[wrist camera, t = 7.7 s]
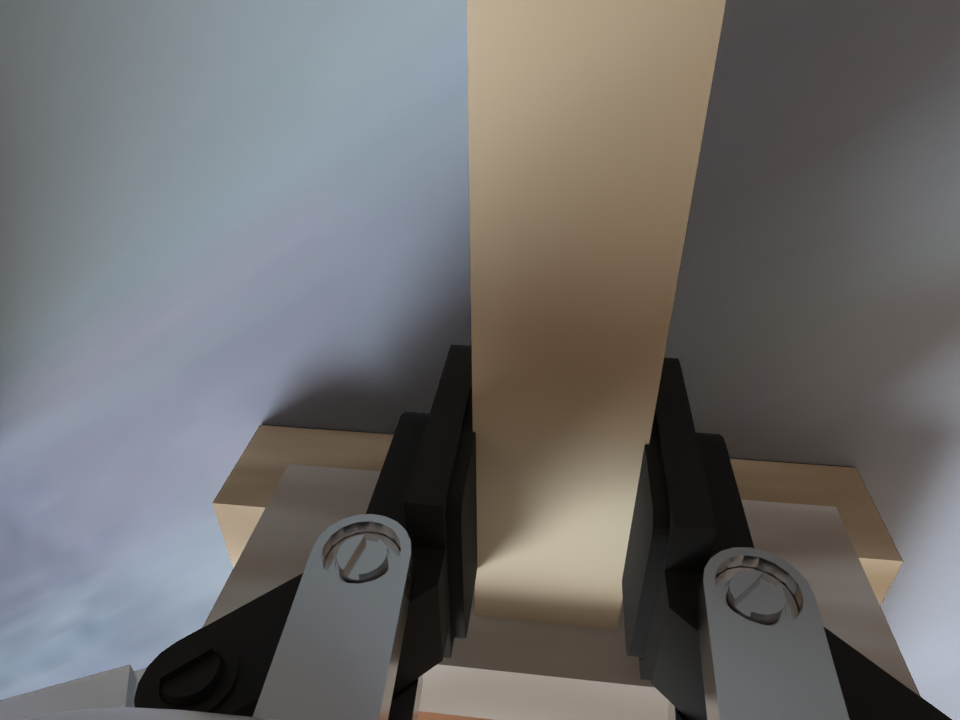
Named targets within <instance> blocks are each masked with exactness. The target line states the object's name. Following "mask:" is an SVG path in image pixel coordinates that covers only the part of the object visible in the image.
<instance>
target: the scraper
mask: <svg viewBox="0 0 960 720" xmlns="http://www.w3.org/2000/svg"><path fill="white" fill-rule="evenodd" d="M725 4H726V0H467V50H468V123H469V197H470V270H471V343H472V416H473V432H476V493H477V574H476V581H475V587H474V593H473V600H472V606H471V613H470V619H469V626H468V632H467V636H466V639H463V638H454V643H453V649H452V655H451V658H444V657H443V661H441V662H440V663H439V664H437V665H436V666H434V667H433V668H431V669H430V670H429V671H427V672H426V673H424V674H423V686H422V693H421V699H420V706H419V711H423V712H432V713H441V714H449V715H458V716H467V717H476V718H484V719H493V720H669V719H668V706H669V700H668V699H667V698H665V697H664V696H663V695H662V694H661V693H660V692H659V691H658V690H657V689H656V688H655V687H654V686H653V685H652V684H651V680H643V679H640V668H639V657H631V656H627V653H626V642H625V626H624V610H623V595H622V577H623V571H624V565H625V559H626V553H627V547H628V541H629V535H630V529H631V523H632V517H633V511H634V506H635V500H636V494H637V488H638V482H639V476H640V470H641V464H642V458H643V452H644V446H645V444H649V442H650V436H651V431H652V425H653V419H654V413H655V408H656V402H657V396H658V390H659V385H660V379H661V373H662V367H663V361H664V356H665V350H666V344H667V338H668V333H669V327H670V321H671V315H672V310H673V304H674V298H675V292H676V287H677V281H678V275H679V269H680V264H681V258H682V252H683V246H684V241H685V235H686V229H687V223H688V218H689V212H690V206H691V200H692V194H693V189H694V183H695V177H696V171H697V166H698V160H699V154H700V148H701V143H702V137H703V131H704V125H705V120H706V114H707V108H708V102H709V97H710V91H711V85H712V79H713V74H714V68H715V62H716V56H717V51H718V45H719V39H720V33H721V27H722V22H723V16H724V10H725ZM380 472H381V471H370V470H357V469H344V468H331V467H318V466H306V465H293V464H288V466H287V468H286V470H285V472H284V474H283V475H282V477H281V479H280V481H279V483H278V485H277V487H276V489H275V491H274V493H273V494H272V496H271V498H270V500H269V502H268V504H267V506H266V508H265V510H264V512H263V513H262V515H261V517H260V519H259V521H258V523H257V525H256V527H255V529H254V531H253V532H252V534H251V536H250V538H249V540H248V542H247V544H246V546H245V548H244V550H243V551H242V553H241V555H240V557H239V559H238V561H237V563H236V565H235V567H234V568H233V570H232V572H231V574H230V576H229V578H228V580H227V582H226V584H225V586H224V587H223V589H222V591H221V593H220V595H219V597H218V599H217V601H216V603H215V605H214V606H213V608H212V610H211V612H210V614H209V616H208V618H207V620H206V622H205V624H204V625H203V627H205V626H207V625H208V624H210V623H212V622H214V621H216V620H218V619H219V618H221V617H223V616H225V615H227V614H229V613H230V612H232V611H234V610H236V609H238V608H240V607H241V606H243V605H245V604H247V603H249V602H251V601H252V600H254V599H256V598H258V597H260V596H261V595H263V594H265V593H267V592H269V591H271V590H272V589H274V588H276V587H278V586H280V585H282V584H283V583H285V582H287V581H289V580H291V579H293V578H294V577H296V576H298V575H300V574H302V573H303V572H304V570H305V567H306V564H307V562H308V559H309V556H310V553H311V550H312V548H313V546H314V544H315V542H316V541H317V539H318V537H319V536H320V535H321V534H322V533H323V532H324V531H325V530H326V529H327V528H328V527H329V526H331V525H333V524H335V523H336V522H338V521H340V520H342V519H345V518H348V517H351V516H355V515H362V514H366V511H367V509H368V506H369V503H370V500H371V497H372V495H373V492H374V489H375V486H376V483H377V481H378V478H379V475H380ZM741 501H742V505H743V508H744V512H745V516H746V519H747V523H748V526H749V530H750V534H751V537H752V541H753V544H754V548H755V549H758V550H763V551H767V552H769V553H771V554H773V555H775V556H778V557H780V558H782V559H784V560H785V561H786V562H788V563H789V564H790V565H792V566H793V567H794V568H796V569H797V570H798V571H799V572H800V573H801V575H802V576H803V577H804V578H805V579H806V580H807V582H808V583H809V585H810V587H811V589H812V591H813V593H814V596H815V599H816V602H817V606H818V609H819V613H820V616H821V620H822V623H823V626H824V627H825V628H827V629H828V630H829V631H831V632H832V633H834V634H835V635H836V636H838V637H839V638H840V639H842V640H843V641H845V642H846V643H847V644H849V645H850V646H851V647H853V648H854V649H856V650H857V651H858V652H860V653H861V654H862V655H864V656H865V657H867V658H868V659H869V660H871V661H872V662H873V663H875V664H876V665H877V666H879V667H880V668H882V669H883V670H884V671H886V672H887V673H888V674H890V675H891V676H893V677H894V678H895V679H897V680H898V681H899V682H901V683H902V684H904V685H905V686H906V687H908V688H909V689H910V690H912V691H913V692H915V693H916V694H917V695H919V696H920V694H919V692H918V690H917V687H916V685H915V683H914V681H913V678H912V676H911V674H910V672H909V670H908V667H907V665H906V663H905V661H904V658H903V656H902V654H901V652H900V649H899V647H898V645H897V643H896V640H895V638H894V636H893V634H892V632H891V629H890V627H889V625H888V623H887V620H886V618H885V616H884V614H883V611H882V609H881V607H880V605H879V602H878V600H877V598H876V596H875V594H874V591H873V589H872V587H871V585H870V582H869V580H868V578H867V576H866V573H865V571H864V569H863V567H862V565H861V562H860V560H859V558H858V556H857V553H856V551H855V549H854V547H853V544H852V542H851V540H850V538H849V535H848V533H847V531H846V529H845V527H844V524H843V522H842V520H841V518H840V515H839V513H838V511H837V509H836V507H830V506H817V505H805V504H792V503H779V502H766V501H753V500H741ZM203 627H202V628H203ZM920 697H921V696H920Z"/></svg>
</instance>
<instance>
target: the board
mask: <svg viewBox="0 0 960 720" xmlns="http://www.w3.org/2000/svg"><path fill="white" fill-rule="evenodd" d="M393 436H394V435H390V434H376V433H362V432H348V431H334V430H320V429H306V428H292V427H279V426H265V425H260V426H259V427H258V429H257V431H256V432H255V434H254V436H253V437H252V439H251V441H250V442H249V444H248V445H247V447H246V449H245V450H244V452H243V454H242V455H241V457H240V459H239V460H238V462H237V464H236V465H235V467H234V468H233V470H232V472H231V473H230V475H229V477H228V478H227V480H226V482H225V483H224V485H223V487H222V488H221V490H220V491H219V493H218V495H217V496H216V498H215V500H214V501H213V506H214V510H215V513H216V516H217V519H218V522H219V525H220V528H221V531H222V534H223V537H224V540H225V543H226V546H227V550H228V553H229V556H230V559H231V562H232V565H233V568H234V567H235V565H236V563H237V561H238V559H239V557H240V555H241V553H242V551H243V550H244V548H245V546H246V544H247V542H248V540H249V538H250V536H251V534H252V532H253V531H254V529H255V527H256V525H257V523H258V521H259V519H260V517H261V515H262V513H263V512H264V510H265V508H266V506H267V504H268V502H269V500H270V498H271V496H272V494H273V493H274V491H275V489H276V487H277V485H278V483H279V481H280V479H281V477H282V475H283V474H284V472H285V470H286V468H287V466H288V464H293V465H306V466H318V467H331V468H344V469H357V470H370V471H381V469H382V467H383V464H384V461H385V458H386V455H387V453H388V450H389V447H390V444H391V441H392V439H393ZM730 461H731V465H732V469H733V472H734V476H735V479H736V483H737V487H738V490H739V494H740V497H741V500H753V501H766V502H779V503H792V504H805V505H817V506H830V507H836V509H837V511H838V513H839V515H840V518H841V520H842V522H843V524H844V527H845V529H846V531H847V533H848V535H849V538H850V540H851V542H852V544H853V547H854V549H855V551H856V553H857V556H858V558H859V560H860V562H861V565H862V567H863V569H864V571H865V573H866V576H867V578H868V580H869V582H870V585H871V587H872V589H873V591H874V594H875V596H876V598H877V600H878V602H879V605H881V603H882V601H883V599H884V597H885V595H886V593H887V592H888V590H889V588H890V586H891V584H892V582H893V580H894V578H895V576H896V574H897V572H898V571H899V569H900V567H901V565H902V563H903V560H902V558H901V556H900V554H899V552H898V550H897V548H896V546H895V544H894V542H893V540H892V538H891V536H890V534H889V532H888V530H887V528H886V526H885V524H884V522H883V520H882V518H881V516H880V514H879V512H878V510H877V508H876V506H875V504H874V502H873V500H872V498H871V496H870V494H869V492H868V490H867V488H866V486H865V484H864V482H863V480H862V478H861V476H860V474H859V472H858V470H857V468H851V467H837V466H823V465H810V464H796V463H782V462H768V461H754V460H740V459H730Z"/></svg>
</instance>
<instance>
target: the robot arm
mask: <svg viewBox="0 0 960 720" xmlns="http://www.w3.org/2000/svg"><path fill="white" fill-rule="evenodd" d="M476 574H477V493H476V432H473V416H472V346H463V345H451V346H450V349H449V352H448V356H447V359H446V362H445V366H444V369H443V372H442V376H441V379H440V382H439V386H438V389H437V392H436V396H435V399H434V402H433V406H432V409H431V412H430V414H429V413H415V412H404V413H402V415H401V417H400V419H399V422H398V425H397V427H396V430H395V433H394V436H393V439H392V441H391V444H390V447H389V450H388V453H387V455H386V458H385V461H384V464H383V467H382V469H381V472H380V475H379V478H378V481H377V483H376V486H375V489H374V492H373V495H372V497H371V500H370V503H369V506H368V509H367V511H366V514H362V515H355V516H351V517H348V518H345V519H342V520H340V521H338V522H336V523H335V524H333V525H331V526H329V527H328V528H327V529H326V530H325V531H324V532H323V533H322V534H321V535H320V536H319V537H318V539H317V541H316V542H315V544H314V546H313V548H312V550H311V553H310V556H309V559H308V562H307V564H306V567H305V570H304V572H303V573H302V574H300V575H298V576H296V577H294V578H293V579H291V580H289V581H287V582H285V583H283V584H282V585H280V586H278V587H276V588H274V589H272V590H271V591H269V592H267V593H265V594H263V595H261V596H260V597H258V598H256V599H254V600H252V601H251V602H249V603H247V604H245V605H243V606H241V607H240V608H238V609H236V610H234V611H232V612H230V613H229V614H227V615H225V616H223V617H221V618H219V619H218V620H216V621H214V622H212V623H210V624H208V625H207V626H205V627H203V628H201V629H199V630H198V631H196V632H194V633H192V634H190V635H188V636H187V637H185V638H183V639H181V640H179V641H177V642H176V643H174V644H173V645H171V646H170V647H169V648H167V649H166V650H164V651H163V652H161V653H160V654H159V655H158V656H157V657H156V658H155V660H154V661H153V662H152V663H151V664H150V665H149V666H148V667H147V668H145V669H141V670H137V671H133V669H132V667H131V665H126V666H123V667H119V668H115V669H112V670H108V671H105V672H101V673H97V674H94V675H90V676H86V677H83V678H79V679H75V680H72V681H68V682H65V683H61V684H57V685H54V686H50V687H46V688H43V689H39V690H36V691H32V692H28V693H25V694H21V695H17V696H14V697H10V698H7V699H3V700H0V720H418V713H419V706H420V699H421V693H422V686H423V674H424V673H426V672H427V671H429V670H430V669H431V668H433V667H434V666H436V665H437V664H439V663H440V662H441V661H443V657H444V658H451V655H452V649H453V643H454V638H463V639H466V636H467V632H468V626H469V619H470V613H471V606H472V600H473V593H474V587H475V581H476ZM622 595H623V610H624V626H625V642H626V653H627V656H631V657H639V668H640V679H643V680H651V684H652V685H653V686H654V687H655V688H656V689H657V690H658V691H659V692H660V693H661V694H662V695H663V696H664V697H665V698H667V699H668V700H669V706H668V719H669V720H952V719H950V718H949V717H948V716H946V715H945V714H943V713H942V712H941V711H939V710H938V709H937V708H935V707H934V706H932V705H931V704H930V703H928V702H927V701H926V700H924V699H923V698H921V697H920V696H919V695H917V694H916V693H915V692H913V691H912V690H910V689H909V688H908V687H906V686H905V685H904V684H902V683H901V682H899V681H898V680H897V679H895V678H894V677H893V676H891V675H890V674H888V673H887V672H886V671H884V670H883V669H882V668H880V667H879V666H877V665H876V664H875V663H873V662H872V661H871V660H869V659H868V658H867V657H865V656H864V655H862V654H861V653H860V652H858V651H857V650H856V649H854V648H853V647H851V646H850V645H849V644H847V643H846V642H845V641H843V640H842V639H840V638H839V637H838V636H836V635H835V634H834V633H832V632H831V631H829V630H828V629H827V628H825V627H824V626H823V623H822V620H821V616H820V613H819V609H818V606H817V602H816V599H815V596H814V593H813V591H812V589H811V587H810V585H809V583H808V582H807V580H806V579H805V578H804V577H803V576H802V575H801V573H800V572H799V571H798V570H797V569H796V568H794V567H793V566H792V565H790V564H789V563H788V562H786V561H785V560H784V559H782V558H780V557H778V556H775V555H773V554H771V553H769V552H767V551H763V550H758V549H755V548H754V544H753V541H752V537H751V534H750V530H749V526H748V523H747V519H746V516H745V512H744V508H743V505H742V501H741V497H740V494H739V490H738V487H737V483H736V479H735V476H734V472H733V469H732V465H731V461H730V458H729V454H728V451H727V447H726V443H725V441H724V438H723V437H722V436H721V435H720V434H707V433H695V428H694V424H693V419H692V415H691V410H690V406H689V401H688V397H687V392H686V388H685V384H684V379H683V375H682V370H681V366H680V362H679V359H677V358H664V361H663V367H662V373H661V379H660V385H659V390H658V396H657V402H656V408H655V413H654V419H653V425H652V431H651V436H650V442H649V444H645V446H644V452H643V458H642V464H641V470H640V476H639V482H638V488H637V494H636V500H635V506H634V511H633V517H632V523H631V529H630V535H629V541H628V547H627V553H626V559H625V565H624V571H623V577H622Z"/></svg>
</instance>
